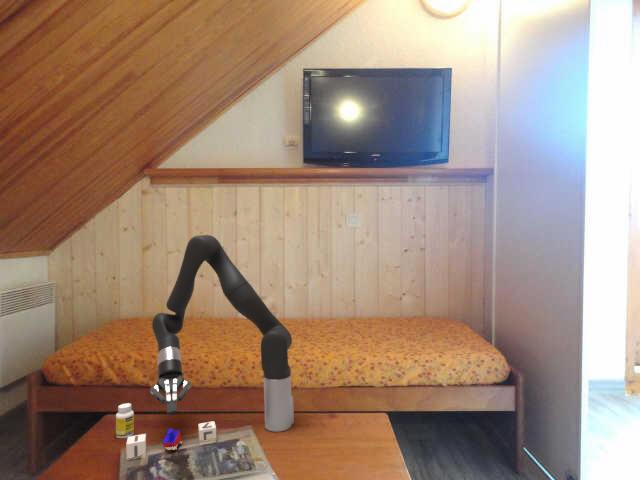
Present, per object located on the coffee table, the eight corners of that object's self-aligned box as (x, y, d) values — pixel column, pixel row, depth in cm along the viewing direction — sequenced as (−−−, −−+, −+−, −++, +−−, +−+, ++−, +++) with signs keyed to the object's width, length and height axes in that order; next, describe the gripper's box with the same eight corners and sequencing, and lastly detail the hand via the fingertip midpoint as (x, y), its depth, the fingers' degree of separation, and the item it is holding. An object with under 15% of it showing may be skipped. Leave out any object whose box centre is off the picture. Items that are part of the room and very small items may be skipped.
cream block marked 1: (146, 449, 123) (145, 433, 123) (145, 458, 119) (144, 440, 119) (128, 453, 122) (127, 436, 122) (126, 461, 117) (126, 444, 117)
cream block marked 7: (214, 436, 131) (214, 420, 131) (216, 443, 126) (216, 427, 126) (198, 439, 129) (198, 423, 129) (199, 446, 124) (199, 430, 124)
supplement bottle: (126, 439, 130) (126, 409, 130) (112, 438, 131) (111, 408, 131) (137, 431, 135) (137, 402, 136) (123, 430, 137) (122, 401, 137)
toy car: (166, 453, 124) (160, 436, 120) (172, 441, 127) (166, 424, 124) (178, 454, 123) (172, 436, 120) (183, 441, 127) (177, 424, 123)
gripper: (148, 360, 130) (148, 412, 119) (190, 355, 136) (195, 405, 124) (148, 372, 135) (149, 423, 124) (189, 366, 140) (193, 415, 129)
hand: (172, 414), depth 124 cm, fingers closed
